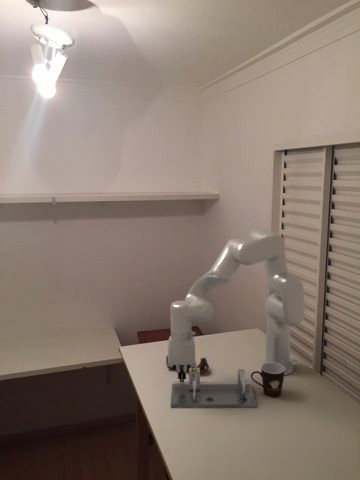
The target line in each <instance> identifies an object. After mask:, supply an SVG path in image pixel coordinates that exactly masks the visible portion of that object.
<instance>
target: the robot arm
mask: <svg viewBox="0 0 360 480" xmlns="http://www.w3.org/2000/svg"><path fill="white" fill-rule="evenodd" d="M285 246H286V245H285V239H284V238H283V236H282V235H280V234H278V233H276V232H273V231H268V230H265V229H261V228H255V229H252V230H251V231H250V232H249V233H248V236H247V240H245V239H242V238H238V237H237V238H235V237H234V238H231V239H229V240H228V241H227V242H226V243H225V245H224V247H223V249H222V250H221V252H220V254H219V255H218V256H217V258H216V260H215V262H214V263H213V265H212V267H211V268H210V269H209V270H208V271H207V272H206V273H204V274H203V275H202V276H201V277H200V278H198V279H197V280H196V281H195V282H194V283H193V284H192V286H191V287H190V289H189V291H188V292H187V294H186V296H185V298H184V300H176V301H173V302H172V303H171V304H170V307H169V308H170V309H169V310H170V311H169V312H170V336H168V346H167V355H168V364H166V367H167V366H169V367H173V368H172V369H174V370H175V371H176V373H177V380H179V382H185V380H186V379H187V371H189V370H188V369H189V368H190V367H195V366H197V363H196V362H197V361H196V345H195V338H194V336H196V331H193V330H192V322H195V323H197V322H200V323H201V322H202V323H203V322H207V321H209V320H211V319H212V317H214V312H215V309H214V306H213V305H212V304H211V303H210V302H208V301H207V300H206V299H205V298H206V297H207V295H208V294H209V293H210V292H211V291H212V290H213V289H215V288H216V287H217V288H218V286H223V285H226V284H227V285H228V284H229V283H230V282H231V281H232V280H233V279H232V278H233V277H234V276H235V274H236V272H237V271H238V270H239V268H240V266H241V265H242V266H253V265H255V264H258V263H262V262H263V263H264V271H265V283H266V287H267V290H268V291H270V292H272V293H273V294H270V295H269V296H268V297H267V298H266V300H265V302H264V312H265V319H266V337H265V338H266V339H265V341H266V345H265V347H266V348H265V349H266V351H265V360H264V361H263V362H262V364H261V366H262V365H263V364H264V363H269V362H273V363H278V364H281V365H283V366H284V367H285V373H284V376H287V375H290V374H292V373H293V371H294V366H298V367H299V366H300V367H302V361H301V360H298V358H291V331H292V330H291V329H292V327H297V326H298V325H301V323H302V322H303V320H304V317H305V307H306V306H305V291H304V286H303V282H302V280H301V279H300V278H299V277H298V276H297V275H295V274H293V273H290V272H289V269H288V262H287V255H286V252H285V250H284V249H285ZM180 365H184V367H181V368H180Z"/></svg>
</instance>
